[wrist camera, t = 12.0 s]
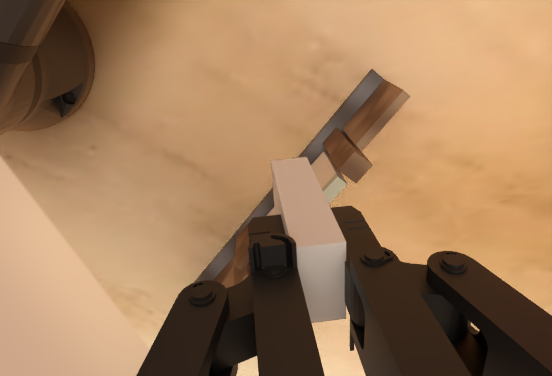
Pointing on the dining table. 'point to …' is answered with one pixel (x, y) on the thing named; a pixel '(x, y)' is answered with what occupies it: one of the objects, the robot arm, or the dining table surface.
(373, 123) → the fence
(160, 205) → the dining table surface
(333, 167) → the beige flat panel
